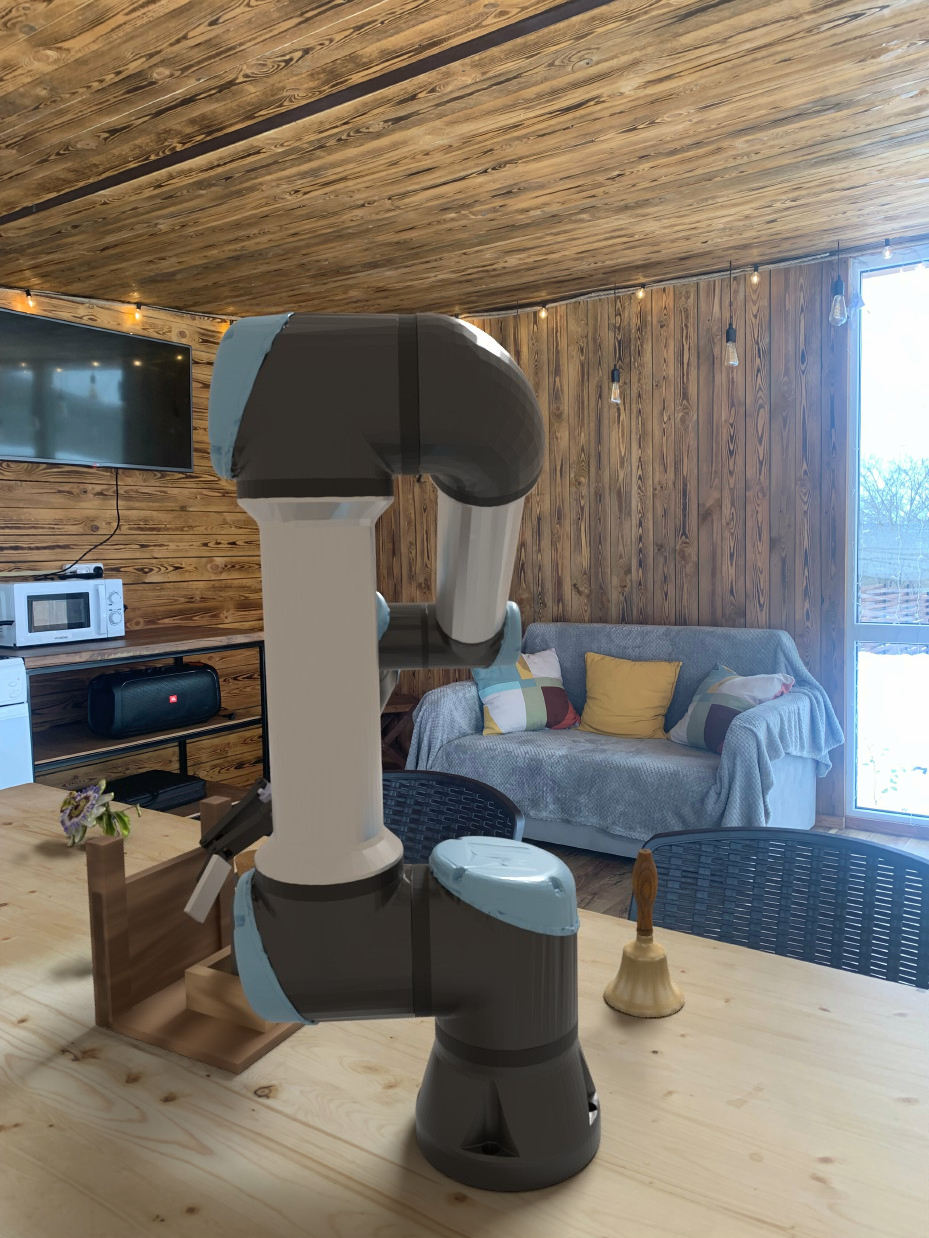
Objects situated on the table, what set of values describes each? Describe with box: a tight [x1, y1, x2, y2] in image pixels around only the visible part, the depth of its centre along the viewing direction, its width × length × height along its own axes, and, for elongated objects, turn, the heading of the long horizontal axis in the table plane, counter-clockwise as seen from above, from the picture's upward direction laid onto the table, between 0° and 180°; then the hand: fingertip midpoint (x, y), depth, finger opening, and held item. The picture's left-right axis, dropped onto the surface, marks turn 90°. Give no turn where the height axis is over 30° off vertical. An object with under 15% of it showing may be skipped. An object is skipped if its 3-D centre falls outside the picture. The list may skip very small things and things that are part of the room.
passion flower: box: [58, 778, 143, 846], centre depth 151 cm, size 11×11×12 cm
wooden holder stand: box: [84, 795, 306, 1075], centre depth 95 cm, size 19×18×19 cm
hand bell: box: [603, 848, 685, 1019], centre depth 96 cm, size 8×8×16 cm
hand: (242, 929), depth 93 cm, fingers open, 13 cm apart
